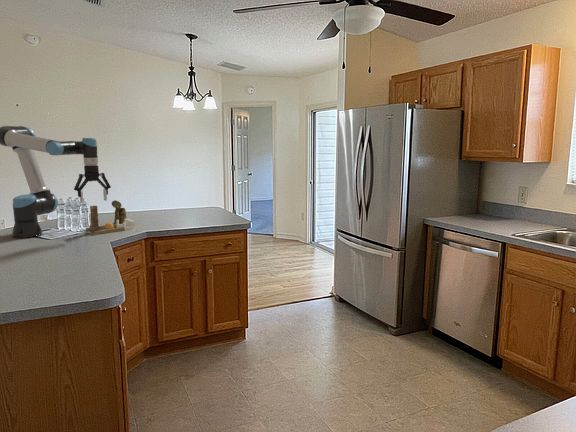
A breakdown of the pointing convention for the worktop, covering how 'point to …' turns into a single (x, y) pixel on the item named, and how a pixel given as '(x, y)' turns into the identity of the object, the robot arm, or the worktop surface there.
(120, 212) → the brown animal figurine
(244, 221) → the worktop surface
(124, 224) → the brown wooden tray
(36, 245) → the worktop surface
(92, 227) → the brown tall block
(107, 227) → the ball
